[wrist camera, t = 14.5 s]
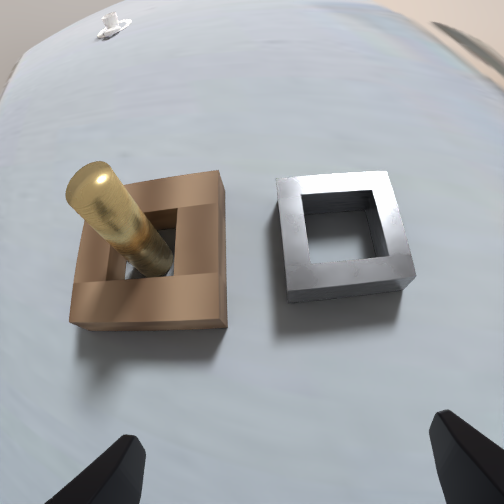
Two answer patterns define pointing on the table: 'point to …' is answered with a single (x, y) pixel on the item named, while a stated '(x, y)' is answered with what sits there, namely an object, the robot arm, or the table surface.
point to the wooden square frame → (159, 288)
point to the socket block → (351, 271)
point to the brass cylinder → (118, 218)
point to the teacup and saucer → (112, 25)
